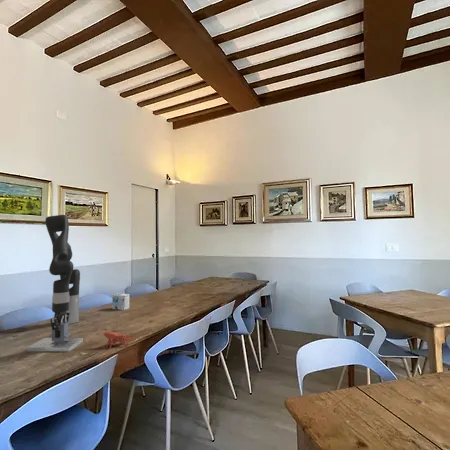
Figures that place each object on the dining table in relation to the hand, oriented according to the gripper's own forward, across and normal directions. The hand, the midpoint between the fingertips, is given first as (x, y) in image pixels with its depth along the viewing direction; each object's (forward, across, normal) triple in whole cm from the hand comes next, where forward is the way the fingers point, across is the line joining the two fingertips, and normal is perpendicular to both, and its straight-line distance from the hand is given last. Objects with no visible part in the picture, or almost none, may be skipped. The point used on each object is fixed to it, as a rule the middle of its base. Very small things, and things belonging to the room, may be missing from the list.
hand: (60, 336), depth 154 cm
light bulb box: (+5, -82, +2) cm, 82 cm away
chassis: (+5, 0, -2) cm, 5 cm away
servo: (+2, 0, 0) cm, 2 cm away
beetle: (+6, -3, +28) cm, 29 cm away
